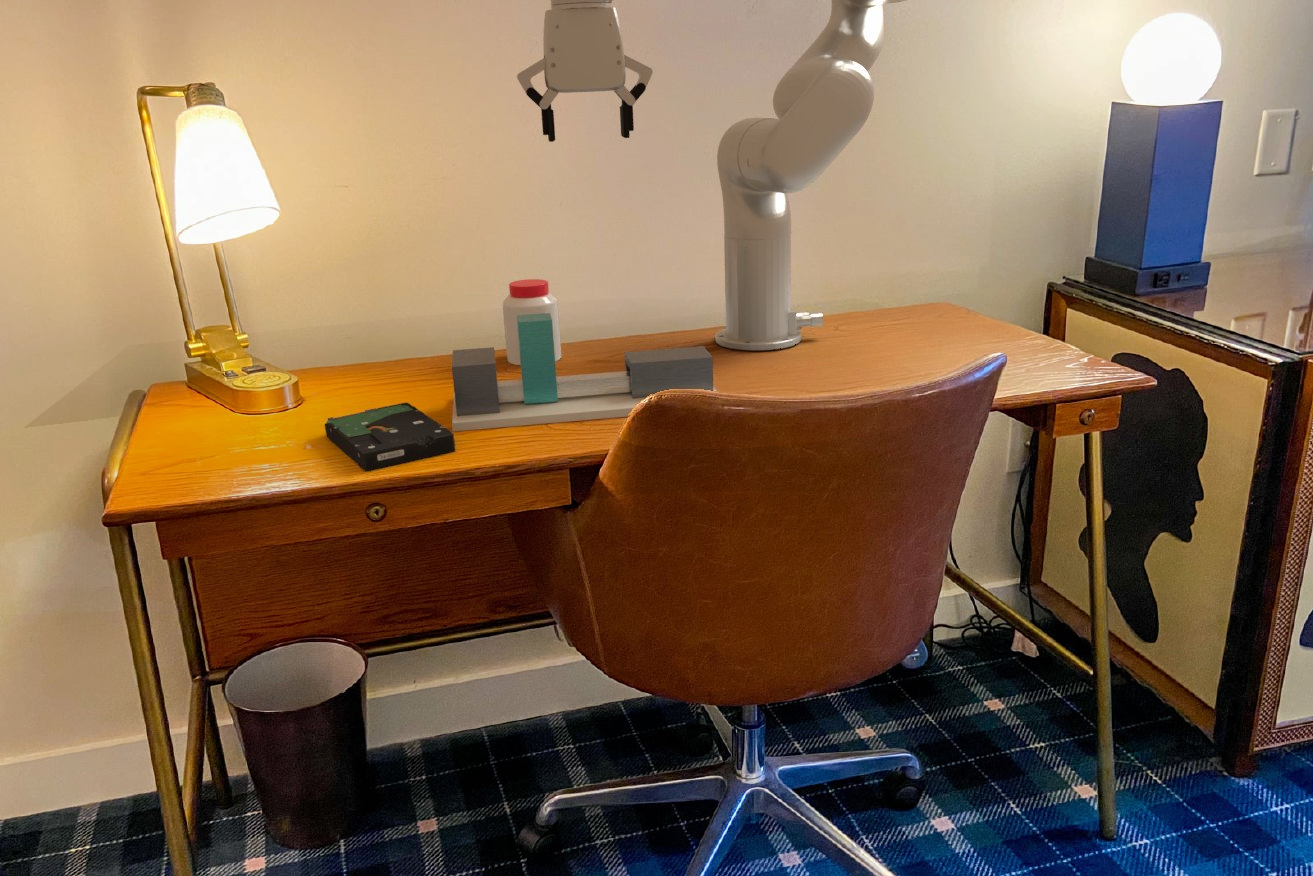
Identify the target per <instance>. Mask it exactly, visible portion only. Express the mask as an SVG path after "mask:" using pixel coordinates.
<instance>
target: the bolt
mask: <svg viewBox="0 0 1313 876" xmlns="http://www.w3.org/2000/svg"><path fill="white" fill-rule="evenodd" d="M517 326H518V339H519V351H520V363H521V365H520V371H521V372H520V373H521V375H520V376H521V379H511V380H509V379H508V380H500V381H499V380H497V386H498V397H499V403H502V402H514V401H524V404H532V403H544V402H556V401H558V398H562V397H574V396H587V395H599V394H611V393H623V392H631V373H630V371H626V370H623V371H611V372H600V373H599V372H597V373H587V374H585V373H584V374H571V375H561V376H557V371H556V368H557V367H556V362H555V354H554V340H553V326H552V318H551V315H550V313H542V314H528V315H517Z"/></svg>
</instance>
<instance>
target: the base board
mask: <svg viewBox="0 0 1313 876" xmlns="http://www.w3.org/2000/svg"><path fill="white" fill-rule="evenodd" d="M713 391H717V392H718V390H717V389H716V387H715V386H714V385H713ZM642 399H645V398H635V399H633V398H632V394H631V392H623V393H611V394H599V395H587V396H574V397H562V398H558V401H556V402H544V403H532V404H524V401H514V402H502V403H499V408H500V413H491V414H479V415H467V416H457V412H456V403H455V393H454V392H453V402H452V403H453V405H452V420H451V422H452V423H451V425H452V432H462V431H474V430H483V429H484V430H485V429H497V428H508V427H520V426H533V425H543V424H554V423H567V422H577V421H578V422H579V421H589V420H603V419H604V420H605V419H612V418H613V419H614V418H627V417H629V416H628V414H629V413H630V412H631V411H632V409H633V408H634V407H635V406H636V404H637V403H639V402H640V401H641V400H642Z"/></svg>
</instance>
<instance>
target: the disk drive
mask: <svg viewBox="0 0 1313 876" xmlns="http://www.w3.org/2000/svg"><path fill="white" fill-rule="evenodd" d="M324 430H325V435H326V438H327V439H329V440H330V442H331V443H332V444H334V445H335V446H336V447H338V449H340V450H341V452H343V453H344V454H345V455H346V456H347V457H348V458H349V459H351V460H352V461H353V462H354V463H355V464H356V465H357V466H358V468H360V469H362V470H363V471H364V472H366V473H368V472H373V471H377V470H381V469H386V468H391V467H394V466H400V465H403V464H409V463H413V462H419V461H422V460H425V459H430V458H434V457H439V456H443V455H447V454H451V453H452V454H454V453H456V442H455V434H454V432H453V431H451V430H450V429H448V428H447V427H444V426H443V425H442V424H441V423H439V422H438V421H436V420H435V419H433V418H431V417H430V416H429V415H427V414H425V413H424V412H423V411H421V410H419V409H418V408H417V407H416V406H414V405H412V404H411V403H409V402H402V403H397V404H392V405H388V406H380V407H378V408H375V407H374V408H371V409H370V408H369V409H365V410H364V411H362V412H357V413H352V414H348V415H343V416H338V417H328V418H327V420H326V423H324Z"/></svg>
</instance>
